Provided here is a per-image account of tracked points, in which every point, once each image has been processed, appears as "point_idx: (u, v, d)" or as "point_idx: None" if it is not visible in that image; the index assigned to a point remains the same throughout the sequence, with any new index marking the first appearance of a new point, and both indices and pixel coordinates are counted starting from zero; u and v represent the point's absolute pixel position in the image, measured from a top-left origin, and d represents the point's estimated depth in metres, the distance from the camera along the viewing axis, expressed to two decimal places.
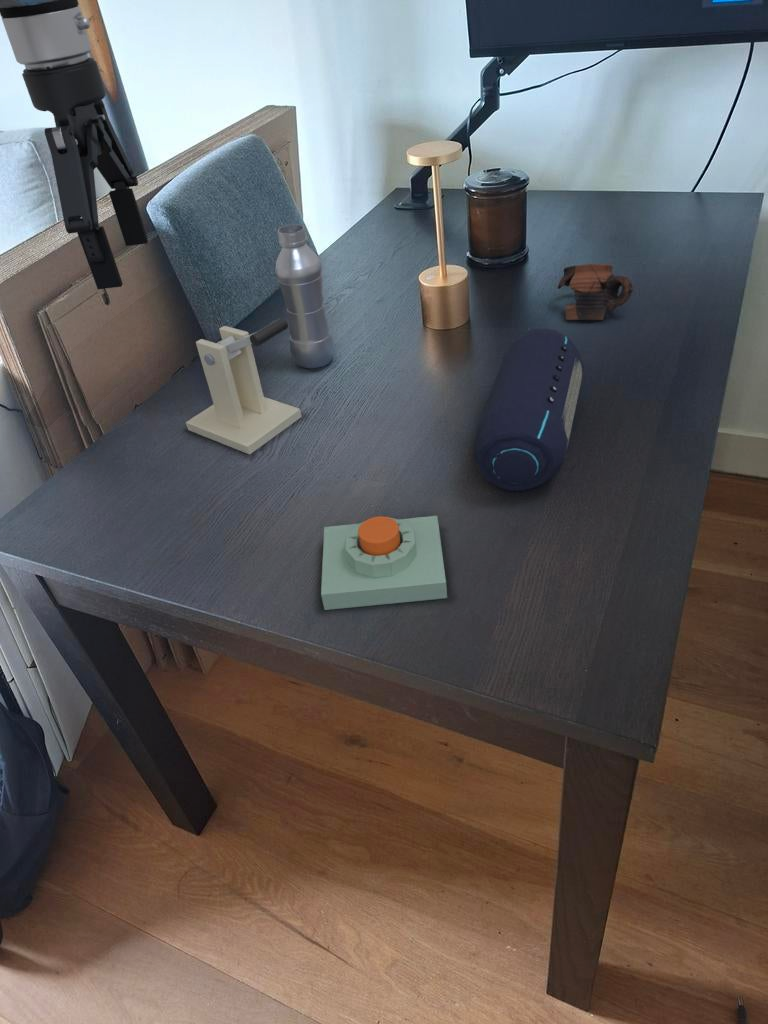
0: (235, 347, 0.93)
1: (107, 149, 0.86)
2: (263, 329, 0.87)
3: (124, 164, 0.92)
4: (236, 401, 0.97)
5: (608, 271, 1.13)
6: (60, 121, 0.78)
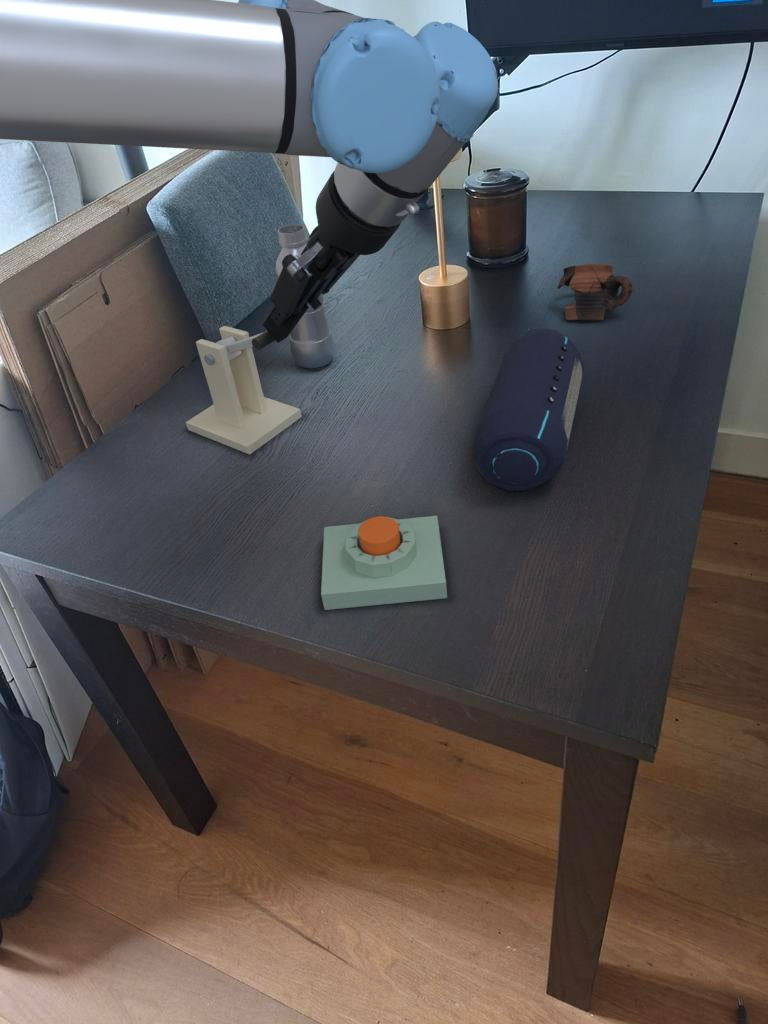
0: (236, 348, 0.93)
1: (337, 267, 0.77)
2: (265, 333, 0.87)
3: (331, 281, 0.81)
4: (236, 401, 0.97)
5: (608, 272, 1.13)
6: (317, 239, 0.70)
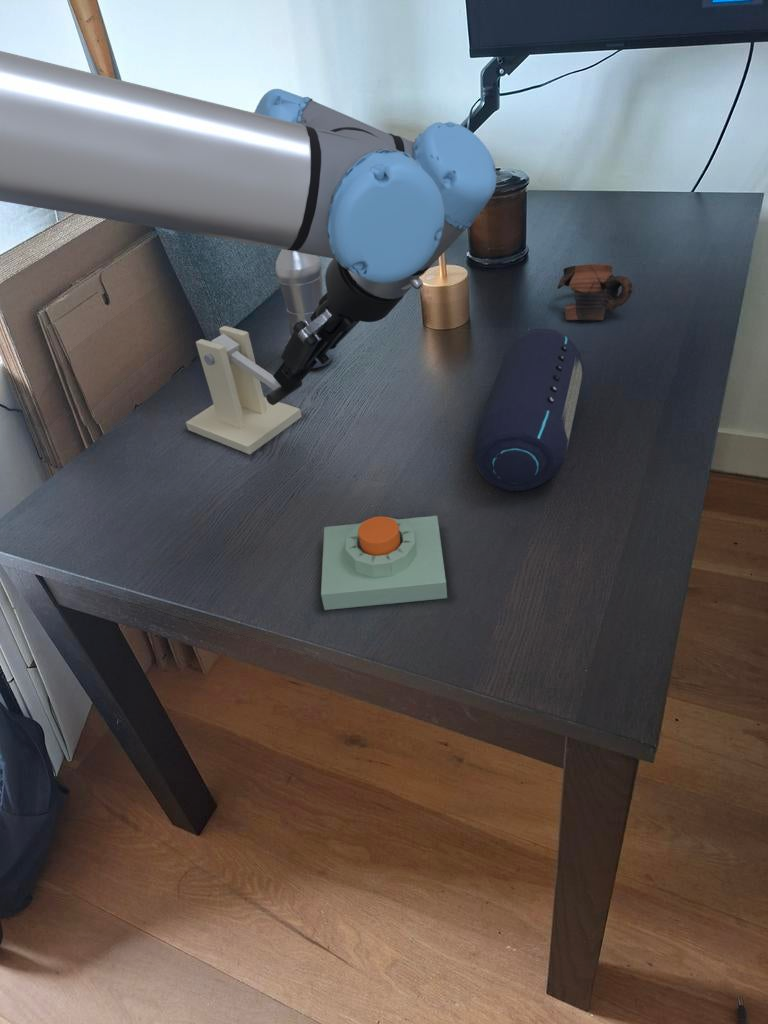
0: (240, 365, 0.94)
1: None
2: (282, 391, 0.91)
3: (338, 338, 0.86)
4: (236, 401, 0.97)
5: (608, 272, 1.13)
6: (327, 308, 0.74)
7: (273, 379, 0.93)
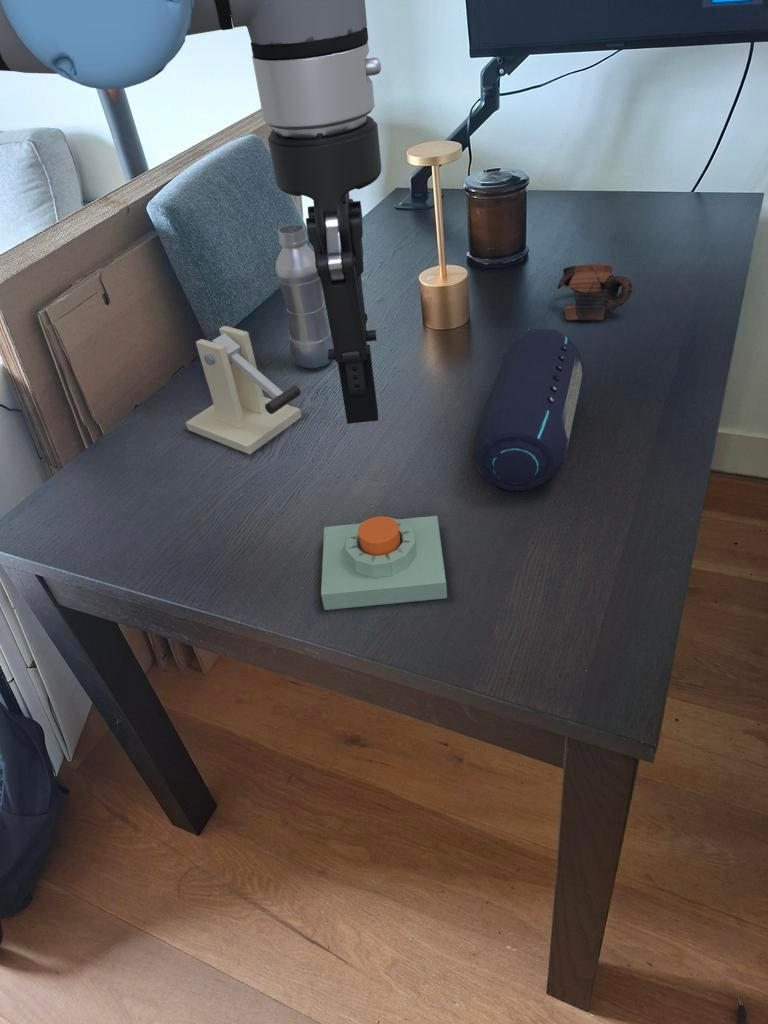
0: (240, 368, 0.95)
1: None
2: (281, 401, 0.93)
3: None
4: (236, 401, 0.97)
5: (608, 272, 1.13)
6: (324, 212, 0.51)
7: (272, 387, 0.94)
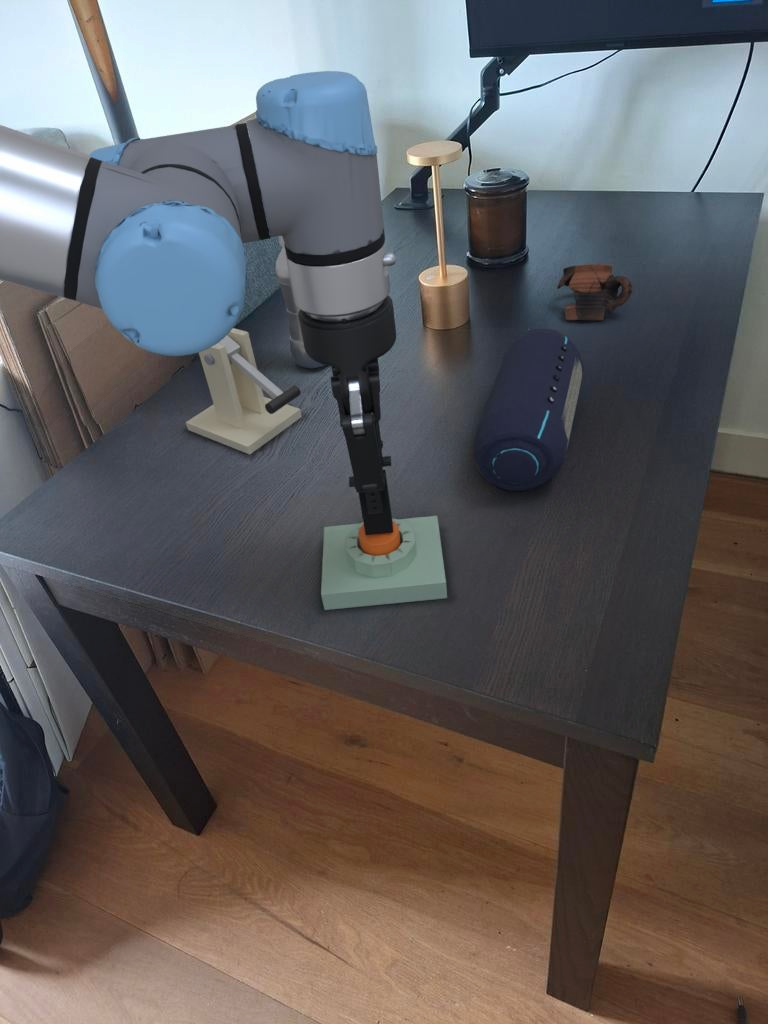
0: (240, 368, 0.95)
1: None
2: (281, 401, 0.93)
3: None
4: (236, 401, 0.97)
5: (608, 272, 1.13)
6: (347, 379, 0.59)
7: (272, 387, 0.94)
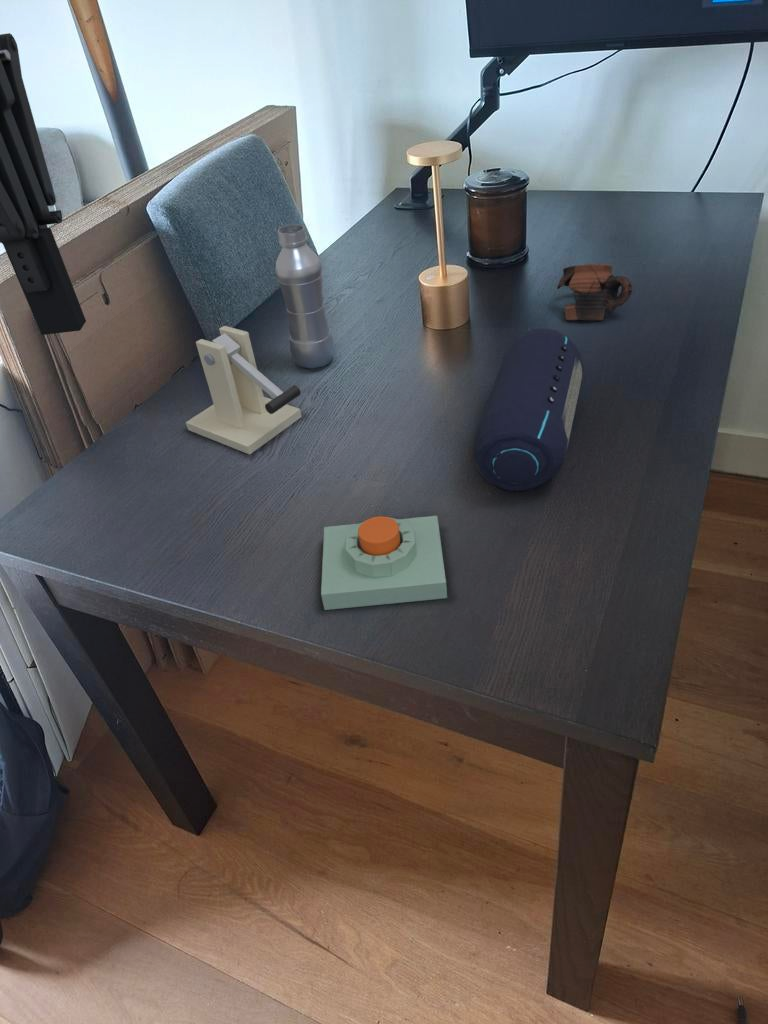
0: (240, 368, 0.95)
1: (0, 101, 0.44)
2: (281, 401, 0.93)
3: (36, 169, 0.49)
4: (236, 401, 0.97)
5: (607, 272, 1.13)
6: None
7: (272, 387, 0.94)
